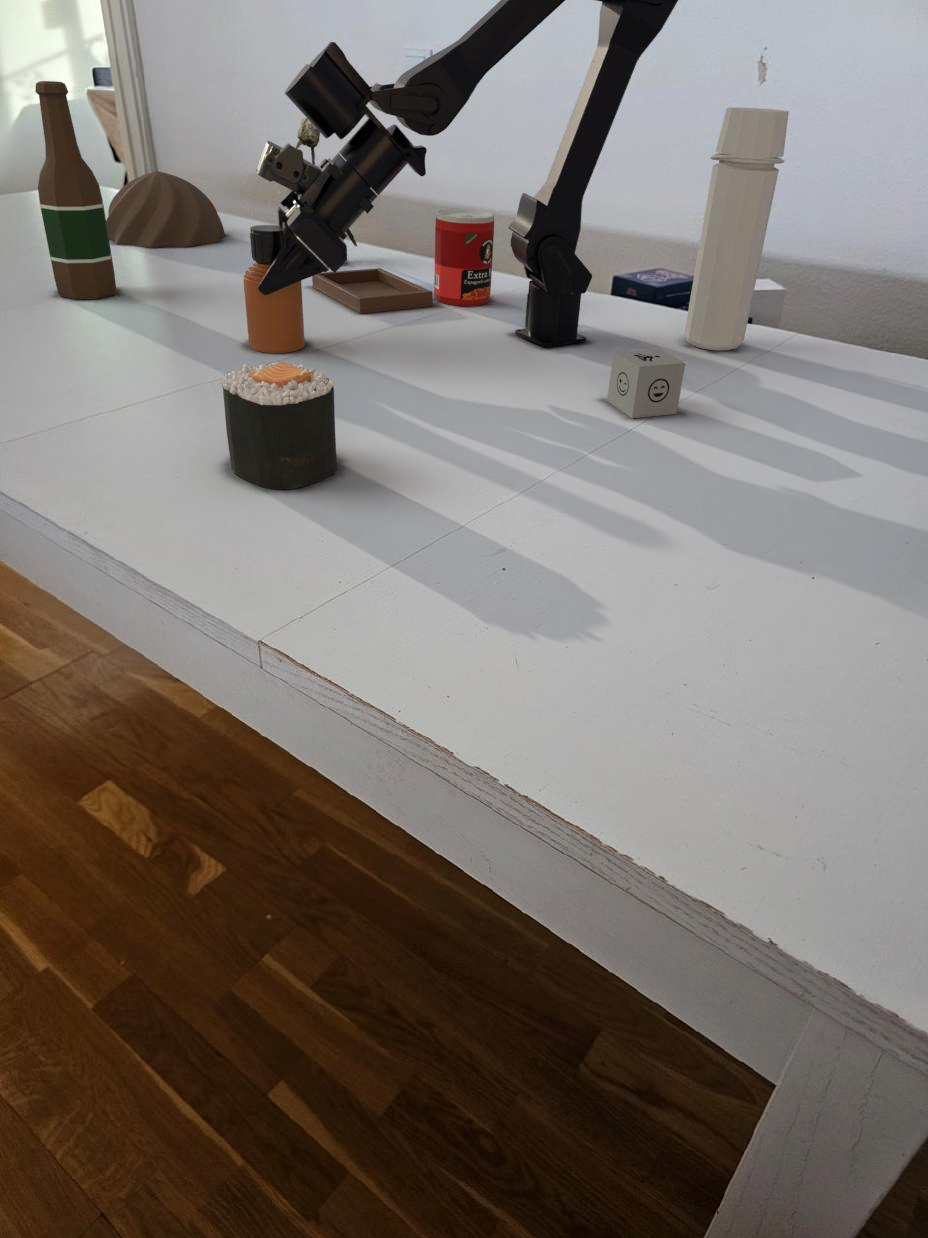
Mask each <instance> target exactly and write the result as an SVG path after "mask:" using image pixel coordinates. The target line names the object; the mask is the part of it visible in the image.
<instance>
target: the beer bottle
mask: <svg viewBox="0 0 928 1238" xmlns="http://www.w3.org/2000/svg"><path fill="white" fill-rule="evenodd" d="M34 92H35V93H36V94H37V95H38V98H39V99H38V100H39V108H40V113H41V115H40V116H41V122H42V128H43V138H44V142H45V143H44V148H45V149H44V150H45V159H44V162H43V165H42V166H41V167H42V168H41V169H40V172H39V177H38V184H37V191H38V192H37V193H38V200H39V206H40V212H41V218H42V221H43V226H44V232H45V233H44V234H45V237H46V242H47V243H46V244H47V247H48V253H49V258H50V262H51V267H52V272H53V278H54V282H55V286H56V289H57V293H58V296H59V297H61V298H66V299H70V300H99V299H104V298H108V297H113V296H115V295H116V290H117V284H116V275H115V268H114V262H113V261H114V260H113V255H112V248H111V242H110V239H109V236H108V230H107V224H106V220H107V217H106V212H105V207H104V206H105V205H104V200H103V196H102V192H101V191H102V190H101V188H100V184H99V182H98V179H97V178H96V176H95V173H94V172H93V170H92V168H91V167H90V166H89V165H88V164H87V162H86V161H85V160H84V159H83V157H82V154H81V151H80V148H79V144H78V141H77V137H76V133H75V127H74V124H73V119H72V115H71V111H70V106H69V102H68V96H67V95H68V94H69V90H68V87H67V85H66V83H65V82H62V81H55V80H54V81H53V80H39V81H37V82H36V83H35V90H34Z"/></svg>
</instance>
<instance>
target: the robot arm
mask: <svg viewBox="0 0 928 1238" xmlns="http://www.w3.org/2000/svg"><path fill="white" fill-rule="evenodd" d="M565 1H566V0H499V1H498V2H497V3H495V5H494V6H493V7H491V9H489V10H488V12H486V13H485V14H484V15H483V16H482V17H481V18H480V19H479V20H478V21H477V22H476V23H475V24H474V25H472V27H470V28H469V29H468V30H467V31H466V32H465V33H464V34H463V35H462V36H460V38H459V39H458V40H456V41H455V42H453V43H452V44H450V45H448V46H446V47H444V48H443V49H442V50H439V51H437V52H436V53H433V54H432V55H430V56H428V57H427V58H425V59H424V60H422V61H420V62H419V63H417V64H415V65H414V66H413V67H411V68H409V69H407V70H406V71H404V72H403V73H402V74H401V75H400V76H399V77H398V78H397V79H396V81H395V82H394V83H387V84H380V83H377V82H375V84H373V85H372V86H371V85H369V84H368V83H367V82H366V80H365V79H364V78H363V77H362V76H361V74H360V73H359V72H358V70H356V69H355V67H354V66H353V65H352V64H351V63H350V61H349V60H348V58H347V57H346V54H345V52H344V51H343V50H342V48H341V47H340V46H339V45H338V44H337V43H336V42H335V41H329V43H328V44H327V45H326V46H325V47H324V48H323V49H322V50H321V51H320V52H319V53H318V54H317V55H316V56H315V57H314V58H313V60H312V61H311V62H310V63H309V64H308V63H306V64H305V65H304V66H303V67H302V69H301V70H300V71H299V72H298V73H297V75H296V76H295V77H294V78H293V80H292V81H291V82H290V84H288V86H287V88H286V89H285V91H284V94H285V96H286V97H287V98H288V99H289V100H290V101H291V102H292V104H294V105H295V106H296V108H297V109H299V111H300V112H301V113H302V114H303V115H304V117H305V118H308V120H309V121H310V122H311V123H312V124H313V125H314V126H315V127H316V128H317V129H318V131H319V132H320V135H322V137H324V138H325V139H329V138H330V137H332V136H333V135H334V134H335V135H336V137H338V139H339V140H343V139H344V138H345V137H347V136H348V135H349V134H350V133H351V132H352V131H353V130H354V129H355V128H356V126H357V125H358V124H360V121H361V120H362V119H363V118H364V117H367V119H366V120H365V121H364V122H363V124H362V125H361V126H360V127H359V128H358V129H357V130H356V132H355V133H354V134H353V135H352V136H351V138H350V139H349V140H347V142H346V143H345V144H344V145H343V147H341V149H340V150H339V151H338V152H337V153H336V155H334V156H333V158H332V159H331V158H330V157H328V158H324V159H323V160H322V161H321V162H320V163H319V165H316V164H315V165H314V164H312V162H310V161H309V160H306V159H305V158H304V151H302V149H299V148H298V149H297V148H296V146H294V145H291V144H290V143H286V144H285V145H284V146H283V147H282V146H281V145H278V144H276V143H274V142H272V141H270V140H266V142H265V144H264V147H263V150H262V152H261V155H260V158H259V161H258V164H257V167H256V169H255V170H256V174H257V176H259V177H261V178H262V179H264V180H266V181H268V182H275V183H277V184H279V185H281V186H282V187H285V188H286V190H285V191H284V193H283V194H281V196H280V197H279V198H278V201H279V203H280V204H281V205H282V206H283V207H285V208H286V209H285V210H283V209H282V208H281V206H277V218H278V219H277V220H278V225H279V226H283V240H284V243H283V246H282V248H281V250H280V251H279V253H278V254H277V256H276V258H275V259H274V261H273V263H272V264H271V266H270V267H269V269H268V271H267V272H266V274H265V275H264V277H263V279H262V281H261V282H260V284H259V286H258V290H259V291H260V292H261V293H262V294H263V295H268V294H270V293H273V292H275V291H277V290H280V289H282V288H284V287H287V286H289V285H291V284H294V283H296V282H299V281H301V282H302V281H304V280H306V279H309V278H312V276H314V275H317V274H319V273H325V272H329V270H331V272H334V273H335V272H337V271H339V269H340V268H341V267H342V266H343V265H344V264H345V263H346V262H347V260H348V246H347V244H346V242H345V241H344V240H346V238H347V237H348V235H347V233H346V231H347V230H348V229H349V230H350V228H351V227H352V225H354V223H355V222H356V221H357V220H358V219H359V218H360V217H361V216H362V214H363V213H364V212H365V213H366V214H368V215H369V213H370V212H371V211H372V210H373V209H374V207H375V206H374V205H373V204H372V203H374V201H375V200H376V199H377V198H378V196H380V195H381V193H382V192H383V191H384V190H385V189H386V188H387V187H389V185H390V183H392V181H394V179H395V178H396V177H397V176H398V174H400V173H401V171H402V170H403V169H404V168H405V167H406V166H408V167H410V168H411V169H412V171H413V172H414V173H416V174H417V175H418V176H419V177H425V175H426V174H427V171H426V155H427V151H428V149H427V147H425V146H424V145H423V144H421V145H414V144H413V143H412V141H411V140H410V139H409V138H408V137H407V136H406V135H405V134H404V132H403V131H402V130H401V129H400V128H399V126H398V125H397V124H392V125H390V126H389V127H387V128H386V126H385V125H383V123H382V122H381V121H380V119H378V117H376V115H375V114H374V113H373V112H372V110H371V109H370V108H369V107H368V106H367V105H368V104H370V105H371V106H372V107H373V108H374V109H375V110H377V111H379V112H382V113H384V114H386V115H389V116H394V117H395V118H396V119H397V121H398V122H399V123H400V124H401V125H402V126H403V127H405V128H407V130H410V131H412V132H413V133H416V134H418V135H420V136H427V137H433V136H437V135H439V134H441V133H442V132H444V131H446V129H447V128H448V127H449V126H450V125H451V124H452V123H453V121H454V120H455V119H456V117H457V116H458V115H459V113H460V112H461V111H462V110H463V108H464V107H465V105H466V104H467V103H468V101H469V100H470V98H471V96H472V95H473V93H474V91H475V90H476V88H477V87H478V85H479V84H480V82H481V80H482V79H483V78H484V76H486V74H487V73H488V72H489V71H490V70H491V69H492V68H494V67H495V66H496V65H497V64H498V63H500V61H501V60H502V59H504V57H506V56H507V55H508V54H509V53H510V52H511V51H512V50H513V49H514V48H515V47H516V46H518V45H519V44H520V43H521V42H522V41H523V40H524V39H525V38H526V37H527V36H528V35H529V34H530V33H532V32H533V31H534V30H535V29H536V28H538V26H539V25H541V24H542V22H543V21H545V20H546V19H547V18H548V17H549V16H551V15H552V13H553V12H555V11H556V10H557V9H558V8H559V7H560V6H561V5H562V4H563V3H564V2H565ZM594 1H596V2H601V6H600V10H599V20H598V21H599V22H598V23H599V24H598V26H599V27H598V39H597V45H596V48H595V51H594V54H593V57H592V59H591V61H590V64H589V67H588V70H587V72H586V75H585V77H584V80H583V83H582V85H581V87H580V90H579V92H578V96H577V98H576V101H575V103H574V107H573V109H572V111H571V113H570V117H569V120H568V123H567V125H566V128H565V130H564V132H563V135H562V138H561V141H560V143H559V146H558V149H557V151H556V154H555V156H554V159H553V161H552V164H551V168H550V169H549V172H548V175H547V177H546V180H545V181H544V183H543V184H542V186H541V188H540V189H539V190H538V191H537V192H536V193H535V195H534V196H531V195H529V194H528V193H525V192H523V193H521V196H520V199H519V203H518V208H517V211H516V215H515V217H514V219H513V220H512V222H511V223H510V224H509V225H508V229H509V230H510V231H512V232H511V237H510V247H511V250H512V254H513V256H514V257H515V259H516V260H517V261H518V262H519V263H520V264H521V265H522V266H523V269H524V272H525V276H526V278H527V279H530V280H529V282H528V292H527V295H526V307H525V320H524V321H525V322H524V326H525V328H518V329H514V334H515V335H516V336H519V337H520V338H523V339H525V340H528V341H529V342H532V343H534V344H536V345H538V346H540V347H542V348H543V347H544V348H548V347H557V346H564V345H571V344H578V343H585V342H587V341H588V337H587V336H585V335H583V334H581V333H578V330H579V320H580V311H581V302H582V301H581V300H582V294H585V293H587V290H588V288H589V286H590V283H591V281H592V279H593V274H592V273H591V272H590V270H589V269H588V268H587V266H586V265H585V264H584V263H583V262H582V260H581V259H580V258H579V257H578V256H577V254H576V251H577V246H578V242H579V238H580V234H581V229H582V212H583V200H584V197H585V194H586V190H587V188H588V187H589V184H590V181H591V179H592V176H593V173H594V171H595V168H596V166H597V165H598V164H597V163H598V161H599V158H600V155H601V153H602V151H603V150H604V149H603V148H604V146H605V144H606V141H607V138H608V136H609V133H610V131H611V129H612V126H613V123H614V120H615V118H616V116H617V113H618V111H619V108H620V107H621V103H622V101H623V99H624V96H625V93H626V91H627V88H628V86H629V83H630V81H631V78H632V76H633V73H634V71H635V69H636V66H637V63H638V61H639V59H640V58H641V56H642V55H643V54H644V53H645V52H646V50H647V49H648V47H649V46H651V43H652V42H654V40H655V39H656V37H657V36H658V35H659V34H660V32H661V31H662V30H663V28H664V26H665V24H666V22H667V21H668V20H669V18H670V16H671V14H672V12H673V10H674V9H675V7H676V6H677V3H678V2H679V0H594Z"/></svg>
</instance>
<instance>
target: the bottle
mask: <svg viewBox="0 0 928 1238" xmlns="http://www.w3.org/2000/svg"><path fill="white" fill-rule="evenodd" d="M271 264H272V263H260V262H256V261H255V263H252V264H251V266H250V267H248V269H247V270H245V271H244V275H243V276H242V280H243V290H244V291H243V292H244V302H245V303H244V304H245V313H246V324H247V336H248V347H249V348H250V349H252V350H253V351H257V352H260V353H267V354H286V353H292V352H297V351H299V350H302V349H304V347H305V346H306V344H305V343H306V342H305V326H304V325H305V324H304V308H303V307H304V306H303V288H302V287H303V286H302V280H301V281H299V282H296V283H294V284H291V285H289V286H287V287H284V288H282V289H280V290H277V291H275V292H273V293H270V294H268V295H263V294H262V293H261V292H260V291H259V290H258V286H259V284H260V282H261V281H262V279H263V277H264V275H265V274H266V272H267V271H268V269H269V267H270V266H271Z"/></svg>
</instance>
